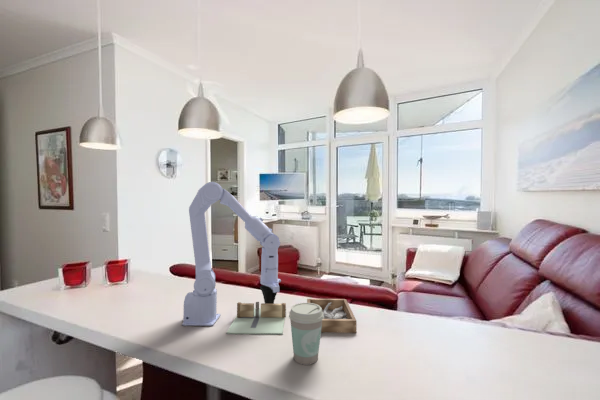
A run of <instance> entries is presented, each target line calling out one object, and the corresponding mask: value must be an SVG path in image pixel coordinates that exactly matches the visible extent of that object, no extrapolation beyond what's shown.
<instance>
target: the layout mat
mask: <svg viewBox="0 0 600 400" xmlns="http://www.w3.org/2000/svg"><path fill="white" fill-rule="evenodd" d="M285 318H286V317H284V318H283V317H261V307H259V318H256V307H254V316H253V317H241V318H237V315H236V316H235V318H234V319H233V321H232V323H231V325H230V326H229V328H228V330H227V331H226V334H227V335H283V334H284V333H283V332H284V326H285V320H286V319H285Z"/></svg>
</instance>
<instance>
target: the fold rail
mask: <svg viewBox="0 0 600 400" xmlns="http://www.w3.org/2000/svg"><path fill="white" fill-rule="evenodd" d="M260 308H261V317H283V318H284V317H285V318H286V315H287V303H286V302H282V303H274V304H268V303H265V302H264V303H260Z"/></svg>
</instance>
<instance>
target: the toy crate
mask: <svg viewBox="0 0 600 400" xmlns="http://www.w3.org/2000/svg"><path fill="white" fill-rule="evenodd" d="M306 303H313V304H317V305H319V306H320V307H321V308H322V311H324V309H325V307H326V306H327V305H328V303H331V304H330V305H331V306H328V309H327V311H331V310H332V311H333V310H335V308H336V309H338V308H340V307H341V306H342V307H343V308H342V310H341V311H343V312H344V314H345V313H346V314H347V315H346V316H345V318H342V319H323V320H322V328H321V333H333V334H334V333H338V334H339V333H340V334H341V333H343V334H344V333H346V334H349V333H350V334H357V319H356V317H355V315H354V313H353V311H352V308H351V306H350V304H349V301H348V300H347V299H345V298H307V299H306Z"/></svg>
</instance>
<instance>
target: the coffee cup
mask: <svg viewBox="0 0 600 400" xmlns="http://www.w3.org/2000/svg"><path fill="white" fill-rule="evenodd" d="M323 312H324V311H323V310H322V308H321V307H320V306H319V305H317V304H313V303H307V302H300V303H295V304H293V305H292V306H291V307H290V311H289V315H288V318H289V319H290V331H291V340H292V349H293V352H292V353H293V359H294V361H295V362H296V363H298V364H301V365H305V366H306V365H312V364H315V363H316V362H317V361H318V359H319V352H320V351H319V350H320V343H321V336H322V335H321V334H322V332H321V328H322V320H323V318H324V315H323Z"/></svg>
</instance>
